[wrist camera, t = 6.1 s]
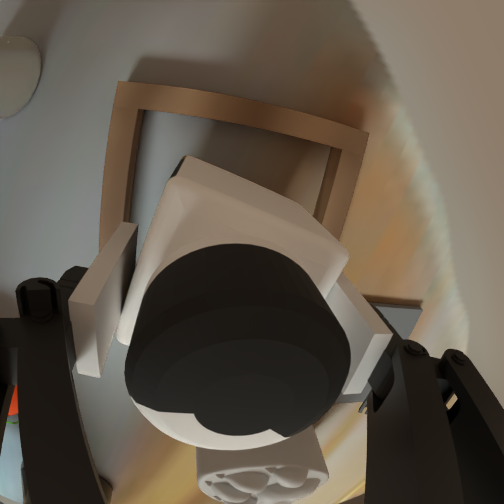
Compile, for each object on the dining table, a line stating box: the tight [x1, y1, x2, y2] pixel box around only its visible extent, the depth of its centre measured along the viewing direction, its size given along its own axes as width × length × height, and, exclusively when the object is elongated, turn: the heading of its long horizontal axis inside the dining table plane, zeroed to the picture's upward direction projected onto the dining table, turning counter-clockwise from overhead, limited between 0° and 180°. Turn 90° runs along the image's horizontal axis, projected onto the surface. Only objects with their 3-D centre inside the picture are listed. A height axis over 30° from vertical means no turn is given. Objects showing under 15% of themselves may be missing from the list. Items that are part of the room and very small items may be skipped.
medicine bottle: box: [116, 155, 351, 450], centre depth 13 cm, size 7×7×12 cm
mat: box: [334, 302, 422, 404], centre depth 27 cm, size 12×12×1 cm
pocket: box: [99, 81, 369, 314], centre depth 20 cm, size 15×15×2 cm
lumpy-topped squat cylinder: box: [196, 424, 329, 504], centre depth 27 cm, size 10×13×9 cm
